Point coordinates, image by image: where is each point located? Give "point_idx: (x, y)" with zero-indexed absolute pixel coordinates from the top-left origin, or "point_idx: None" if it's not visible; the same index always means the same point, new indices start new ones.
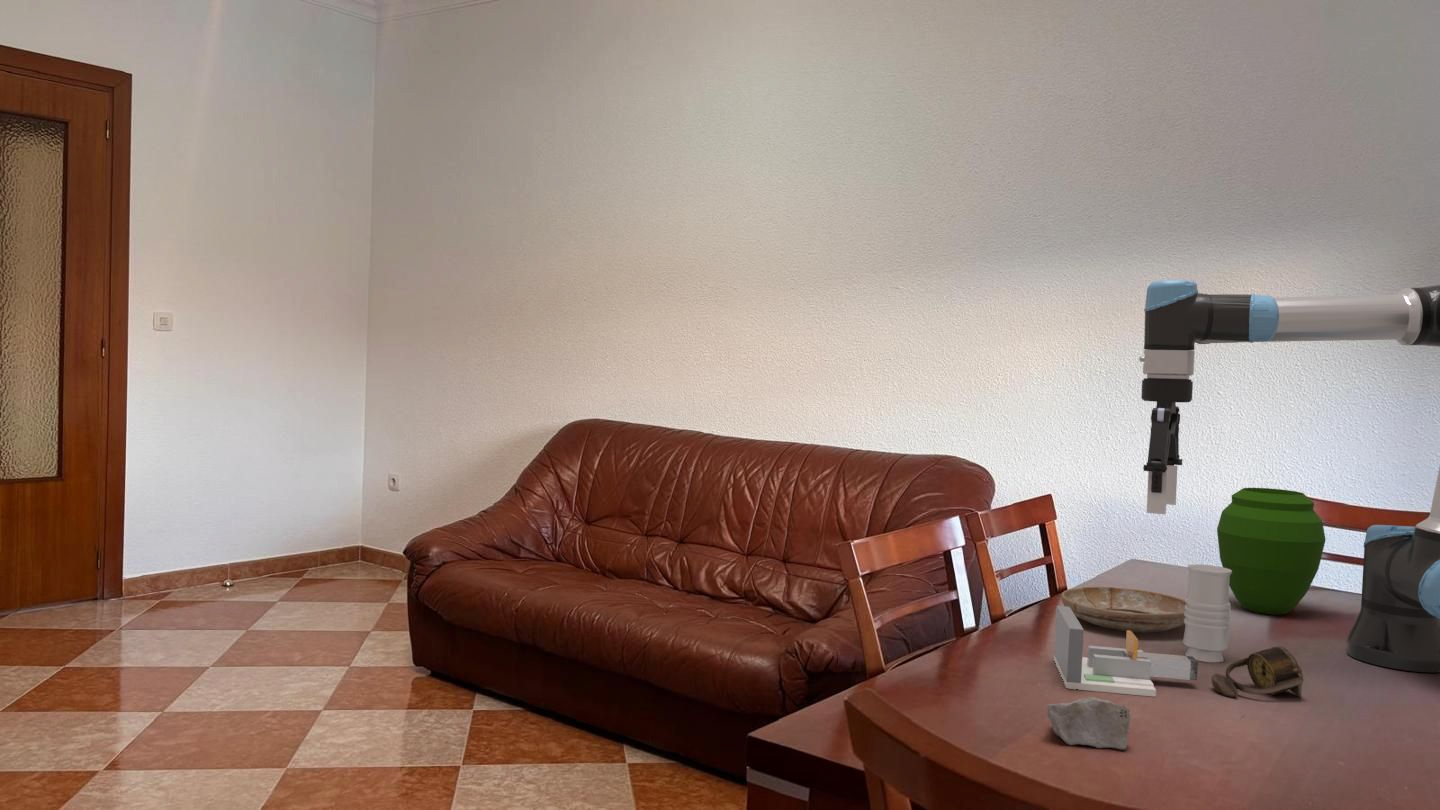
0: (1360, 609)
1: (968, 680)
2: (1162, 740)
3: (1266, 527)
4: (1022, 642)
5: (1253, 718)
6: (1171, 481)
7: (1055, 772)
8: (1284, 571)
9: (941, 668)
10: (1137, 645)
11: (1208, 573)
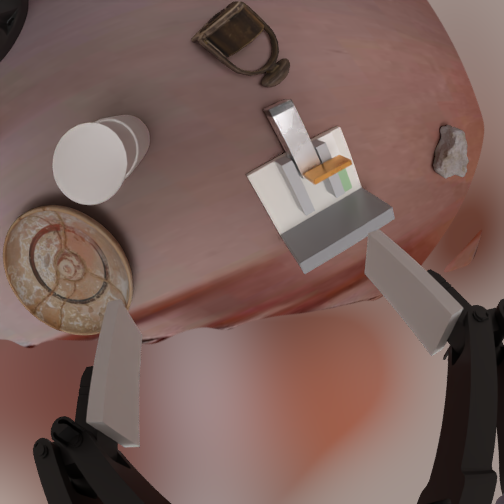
0: None
1: None
2: (424, 105)
3: None
4: (239, 289)
5: (337, 43)
6: (117, 372)
7: (475, 151)
8: None
9: (361, 281)
10: (347, 158)
11: (125, 148)
